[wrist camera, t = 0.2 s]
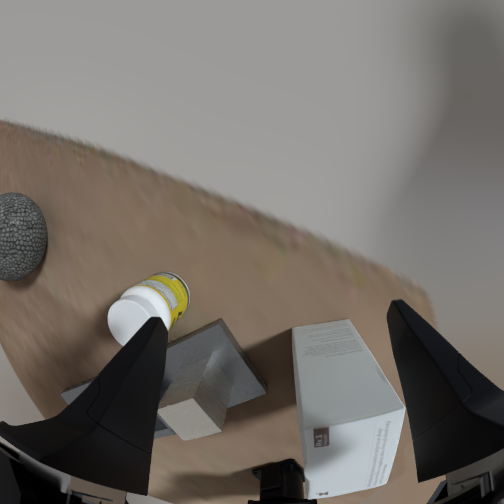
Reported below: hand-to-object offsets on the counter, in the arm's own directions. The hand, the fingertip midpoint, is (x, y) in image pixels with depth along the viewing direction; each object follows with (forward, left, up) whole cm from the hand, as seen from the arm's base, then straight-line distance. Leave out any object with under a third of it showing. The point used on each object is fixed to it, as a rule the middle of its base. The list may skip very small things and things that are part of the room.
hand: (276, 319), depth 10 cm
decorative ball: (+17, +24, -15) cm, 33 cm away
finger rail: (-7, +22, -15) cm, 27 cm away
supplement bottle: (+2, +11, -15) cm, 19 cm away
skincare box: (-11, +1, -15) cm, 19 cm away
